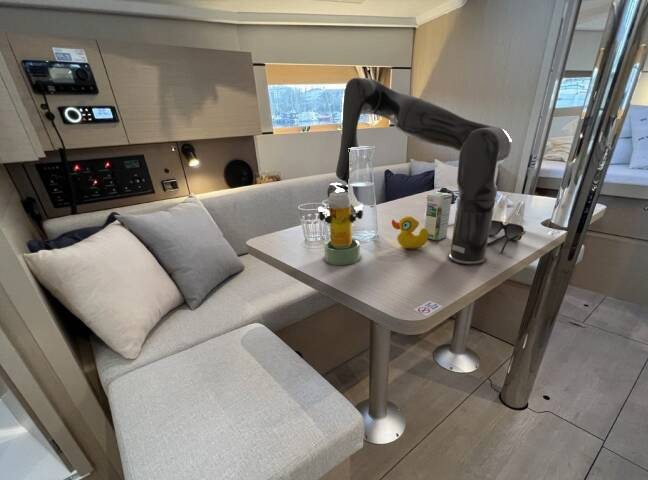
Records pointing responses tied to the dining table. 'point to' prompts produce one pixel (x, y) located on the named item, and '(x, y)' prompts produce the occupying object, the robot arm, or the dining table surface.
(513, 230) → the sunglasses
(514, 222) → the shaker set
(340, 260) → the green round bowl
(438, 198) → the syrup box
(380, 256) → the dining table surface
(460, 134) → the robot arm
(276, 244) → the dining table surface
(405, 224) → the duckling
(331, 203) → the yellow bottle
